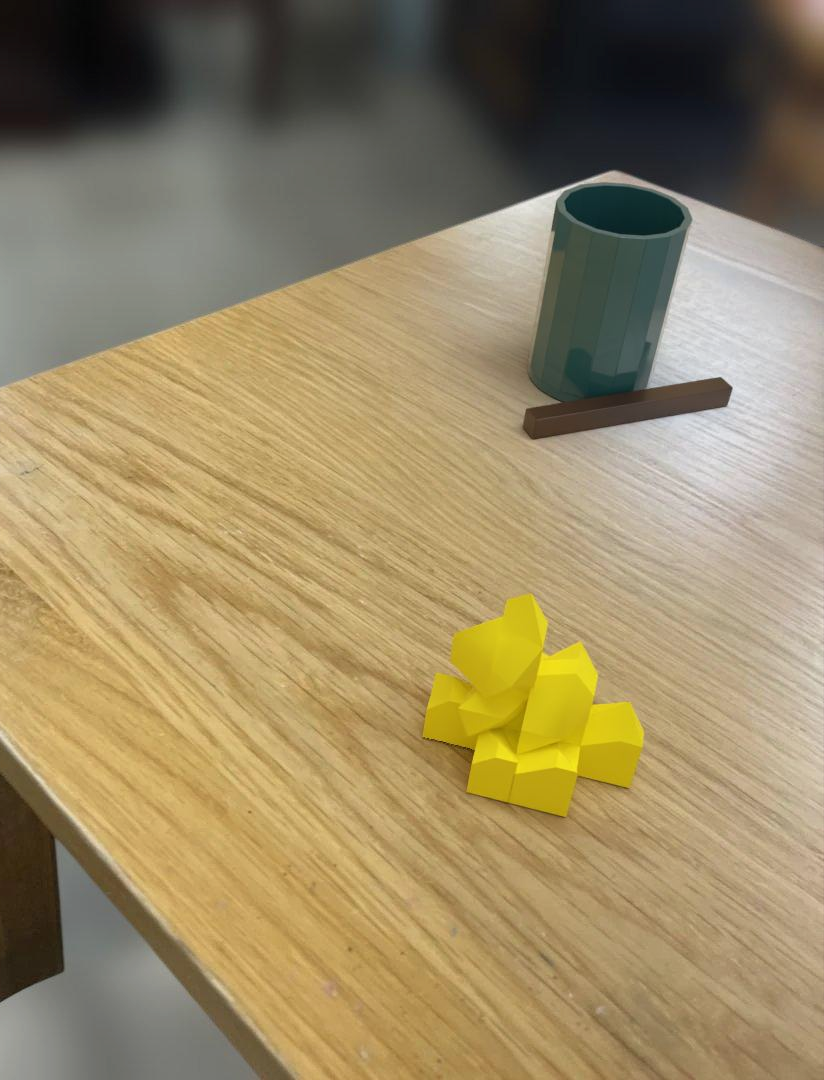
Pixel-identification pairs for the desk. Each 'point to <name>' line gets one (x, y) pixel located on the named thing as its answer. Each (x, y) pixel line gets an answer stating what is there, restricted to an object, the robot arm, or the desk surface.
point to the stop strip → (626, 407)
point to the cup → (606, 289)
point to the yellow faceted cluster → (530, 714)
